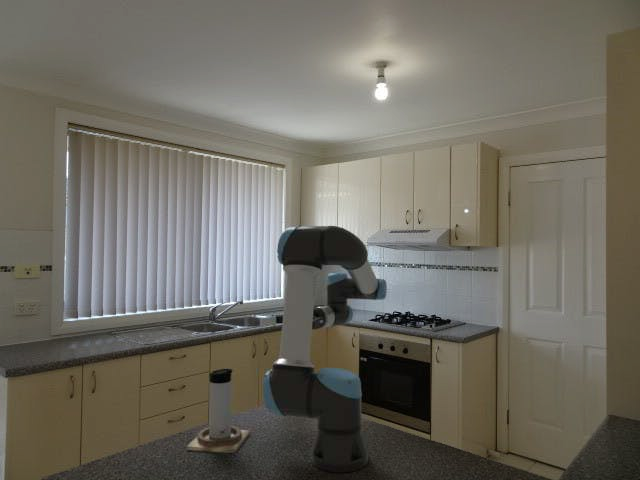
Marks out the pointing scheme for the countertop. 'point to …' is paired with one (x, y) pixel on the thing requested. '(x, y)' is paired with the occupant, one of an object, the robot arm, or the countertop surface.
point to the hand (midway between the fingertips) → (273, 324)
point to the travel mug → (220, 404)
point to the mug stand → (219, 441)
